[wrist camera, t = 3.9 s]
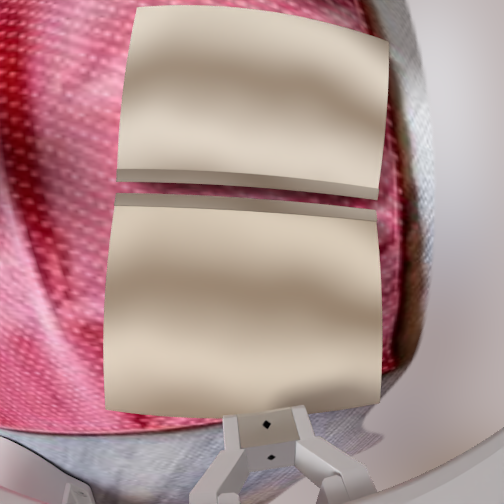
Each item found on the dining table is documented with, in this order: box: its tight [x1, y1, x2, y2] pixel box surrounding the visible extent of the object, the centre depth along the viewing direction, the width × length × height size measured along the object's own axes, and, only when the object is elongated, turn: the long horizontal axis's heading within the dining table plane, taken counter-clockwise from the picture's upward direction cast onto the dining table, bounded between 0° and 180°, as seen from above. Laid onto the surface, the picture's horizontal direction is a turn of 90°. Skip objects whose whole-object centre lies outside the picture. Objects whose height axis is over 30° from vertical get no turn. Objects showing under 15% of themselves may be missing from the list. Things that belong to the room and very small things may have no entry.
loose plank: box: [103, 193, 382, 418], centre depth 14 cm, size 10×13×2 cm
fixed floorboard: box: [116, 5, 389, 200], centre depth 13 cm, size 9×13×2 cm
